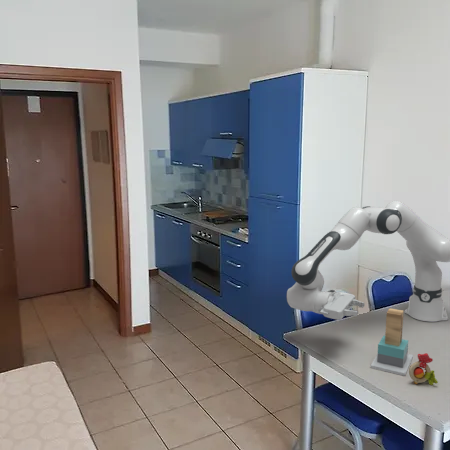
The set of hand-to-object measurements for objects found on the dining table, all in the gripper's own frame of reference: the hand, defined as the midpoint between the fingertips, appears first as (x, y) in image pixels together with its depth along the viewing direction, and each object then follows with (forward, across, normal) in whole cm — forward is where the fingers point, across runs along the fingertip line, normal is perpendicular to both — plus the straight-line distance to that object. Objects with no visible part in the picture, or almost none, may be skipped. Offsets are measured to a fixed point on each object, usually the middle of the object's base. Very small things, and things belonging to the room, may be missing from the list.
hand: (360, 309), depth 178 cm
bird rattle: (+24, -11, +19) cm, 33 cm away
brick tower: (+12, -1, +18) cm, 22 cm away
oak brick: (+12, -1, +10) cm, 16 cm away
